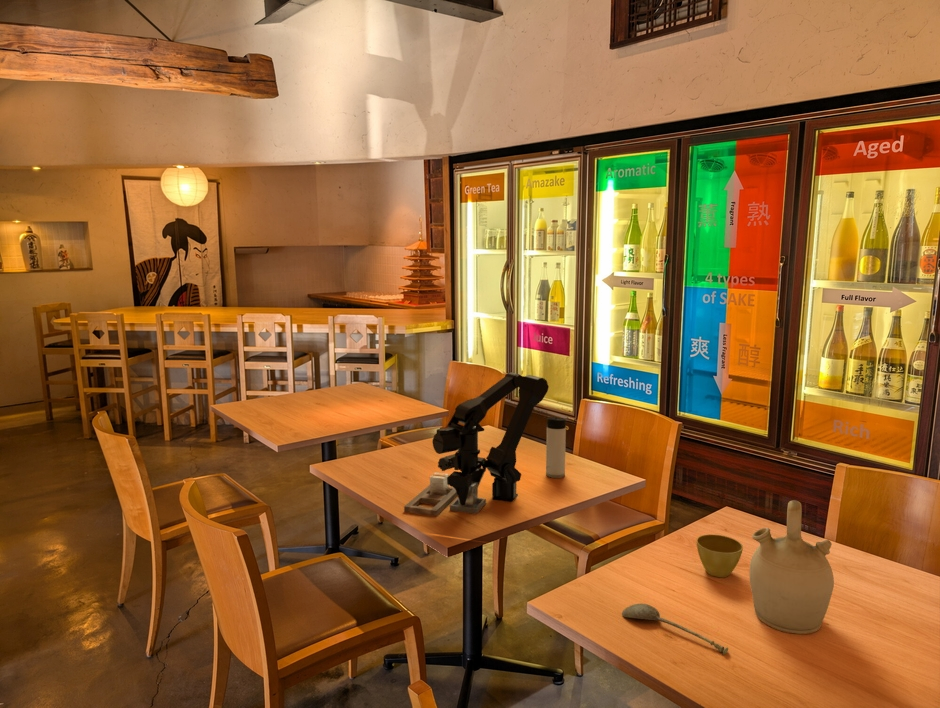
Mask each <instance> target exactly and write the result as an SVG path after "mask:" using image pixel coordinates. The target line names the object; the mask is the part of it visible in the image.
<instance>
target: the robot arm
mask: <svg viewBox="0 0 940 708" xmlns="http://www.w3.org/2000/svg"><path fill="white" fill-rule="evenodd" d="M549 387H550V386H549V384H548V381H547V379H545V378H543V377H540V376H535V375H531V374H527V375H526V376H525V375H524V376H523V375H521V374H519V373H514V372H508V373H506V374H505V376H504V377H502V378H501V379H500V380H498V381H497V382H495V384H493V385H492V386H491V387H489V388H487V389H486V390H485V391H484V392H482V393H481V394H480V395H478V396H477V397H475V398H470V399H466V400H465V401H463V402H461V403H459V404H458V405H456V407H455V410H454V413H453V415H452V416H451V418H450V420H449V421H448V424H447V425H446V428H437V429H436V433H435V434H434V435H433V437H432V447H433V450H434V451H435V453H436V454H438V455H441V454H446V453H451V452H455V453H453V454H450V455H446V456H444V457H443V456H442V457H440V458H439V459H438V462H437V467H438V468H439V469H440V470H441V472H445V471H447V470H451V469H453V470H455V471H453V472H452V473H450V474H449V476H448V477H447V484H448V485H449V487H454V488H455V490H456V492H457V495H458V496H457V498H459V501H460V504H461V505H465V503H466V500H467V497H468V494H469V491H470V488H471V485H472V484H471V481H473V482H478V487H479V486H480V484H481V481H482V479H483V477H484V475H485V472H486V471H488V472H489V474H490V476H491V477H493V482H492V484H491V487H492V489H491V490H492V491H491V494H492V498H491V500H492V501H501V502H507V503H513V502H514V501H515V500H516V498H517V497H518V495H519V493H517V482H520V481H521V477H522V473H521V472H520V471H519V470H518V469H517V468H516V463H517V452H516V451H517V448H518V446H519V444H520V441H521V439H522V436H523V435H524V432H525V430H526V428H527V425H528V422H529V420H530V418H531V415H532V414H533V411H534V408H535V407H536V406H538V405H539V404H540V403H541V402H542V401H543V400H544V398H545V396H546V394H547V393H548V390H549ZM517 388H518V403H517V405H516V407H515V409H514V412H513V414H512V417H511V419H510V421H509V423H508V425H507V427H506V431H505V432H504V435H503V438H502V440H501V442H500V443H499V445H498V446H496V447H495V446H491V447H490V449H489V453H488V455H487V456H486V457H479V455H480V454H481V449H479V433H480V432H481V433H482V432H484V431H485V427H483V426H481V424H480V423H481V422H482V421H483V420H484V419H485V418H486V416H487V413H488V411H490V409H492V408H494V406H496V404H498V403H499V402H500V401H502V400H503V399H504V398H505V397H507V396H508V395H510V394H511V393H512V392H513V391H514V390H516V389H517Z"/></svg>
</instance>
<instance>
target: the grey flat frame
mask: <svg viewBox="0 0 940 708" xmlns="http://www.w3.org/2000/svg"><path fill="white" fill-rule="evenodd" d="M457 498H458V495H457V492H456V490H455V488H454V487H451V486H449V493H448V494H447V495H446V496H441V495H434V494H430V484H429V485H427V486H426V487H425V488H424V489H423V490H422V491H421V492H420V493H418V494H417V495H416V496H415V497H413V498H412V499H411V500H410V501H409V502H407V503H406V504H405V505H404V506H403V511H404V513H410V514H417V515H424V516H431V517H438V516H439V515H440V514H441V513H442V512H443V511H444V510H445V509H446V508H447V507H448V506H450V505H451V504H452V503H453V502H454V501H455V500H456V499H457ZM421 504H427V505H432V506H433V507H431V508H430V507H425V506H420V505H421Z"/></svg>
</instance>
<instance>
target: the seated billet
mask: <svg viewBox="0 0 940 708" xmlns="http://www.w3.org/2000/svg"><path fill="white" fill-rule="evenodd" d="M449 475H450V474H449V473H443V472H442V473H441V472H434V473H432V475H430V476H429V485H430V494H434V495H441V496H446V495H447V494H448V493H449V487H450V485H448V484H447V477H448V476H449Z"/></svg>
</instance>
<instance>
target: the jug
mask: <svg viewBox="0 0 940 708" xmlns="http://www.w3.org/2000/svg"><path fill="white" fill-rule="evenodd" d="M802 506H803V505H802V503H801V502H800V501H798V500H795V499H793V500H790V501H788V503H787V509H786V510H787V511H786V535H785V536H781V537H776V538H773V537H772V534H771V529H770V528H769V527H762V528H759V529H758V530H756V531H754V533H752V535H751V537H752V539H753V540H755V541H756V542H758V543H759V546H758V547H756V548H755V550H754V552H753V554H752V556H751V558H750V562H749V585H750V590H751V595H752V601H753V602H752V603H753V607H754V613H755V615H756V617H757V618H758V619H759V620H760V621H761V622H762V623H764V625H766V626H768V627H770V628H772V629H775V630H776V631H777V630H778V631H780V632H783V633H786V634H787V633H788V634H795V635H809V634H813V633H816V632H817V631H819V630H820V629H821V628H822V623H823V621H824V619H825V617H826V614H827V611H828V608H829V605H830V602H831V598H832V594H833V591H834V585H835V581H834V580H835V579H834V572H833V568H832V566H831V564H830V562H829V560H828V559H827V557H826V555H829V554H830V553H831V551H830V549H831V547H832V542H831V540H829V539H825V540H821V541H817V542H816V543H815V545H813V544H811V543H810V542H807V541H806V540H803V537H802V514H803V513H802V512H803V511H802V510H803V509H802Z"/></svg>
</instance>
